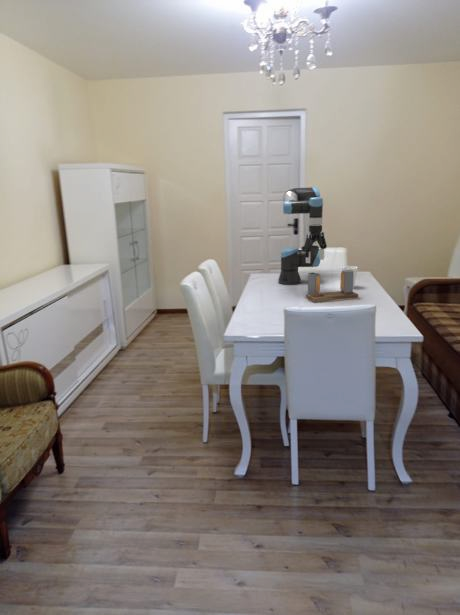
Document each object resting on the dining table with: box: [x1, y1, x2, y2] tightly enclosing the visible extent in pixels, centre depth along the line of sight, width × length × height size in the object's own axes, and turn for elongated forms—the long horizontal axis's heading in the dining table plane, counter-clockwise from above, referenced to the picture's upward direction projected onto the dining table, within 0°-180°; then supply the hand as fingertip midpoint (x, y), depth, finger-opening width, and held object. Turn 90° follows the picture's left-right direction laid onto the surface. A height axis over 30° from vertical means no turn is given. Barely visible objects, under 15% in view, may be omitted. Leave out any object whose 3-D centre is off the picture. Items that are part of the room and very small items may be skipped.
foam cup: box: [341, 265, 359, 289], centre depth 274 cm, size 10×9×13 cm
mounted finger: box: [339, 270, 354, 294], centre depth 251 cm, size 4×6×13 cm, turn 103°
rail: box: [305, 290, 359, 304], centre depth 251 cm, size 10×28×2 cm, turn 103°
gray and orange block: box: [307, 272, 321, 294], centre depth 260 cm, size 4×6×13 cm, turn 43°
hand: (314, 261), depth 256 cm, fingers open, 13 cm apart
